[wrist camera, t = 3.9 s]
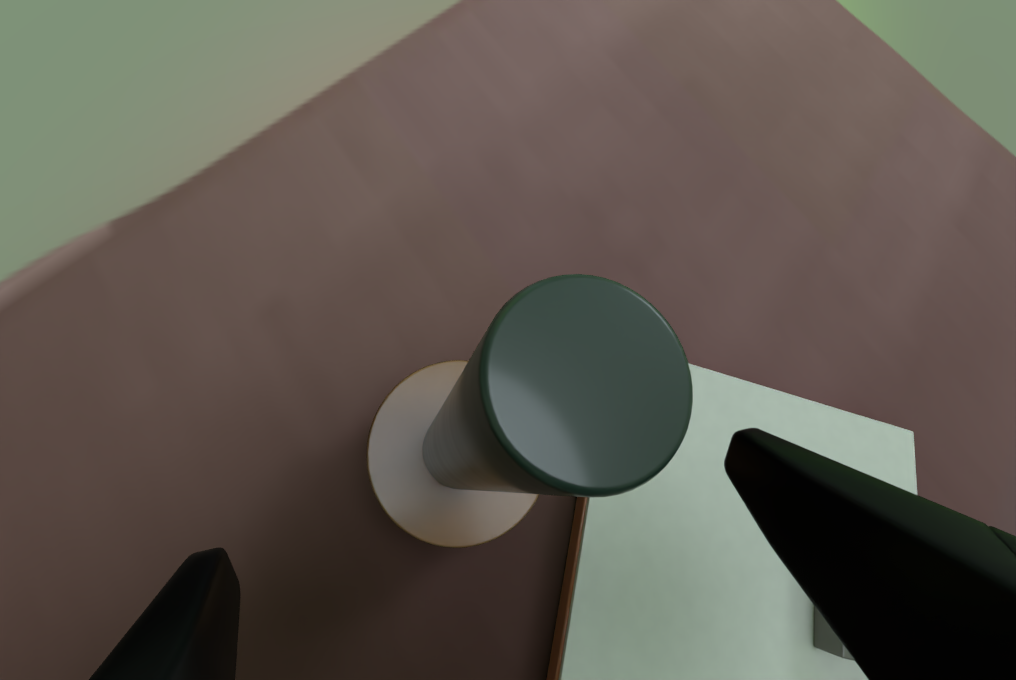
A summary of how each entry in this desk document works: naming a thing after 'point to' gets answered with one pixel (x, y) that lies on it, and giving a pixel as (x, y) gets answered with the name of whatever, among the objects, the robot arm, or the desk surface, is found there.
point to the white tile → (707, 553)
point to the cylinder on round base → (533, 413)
